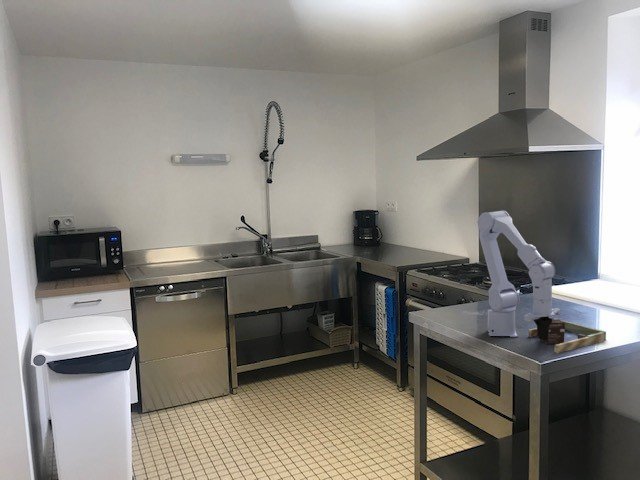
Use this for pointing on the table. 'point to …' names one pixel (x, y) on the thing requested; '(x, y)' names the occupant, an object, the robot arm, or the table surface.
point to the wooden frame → (591, 338)
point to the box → (555, 332)
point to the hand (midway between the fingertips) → (542, 339)
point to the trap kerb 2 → (581, 336)
